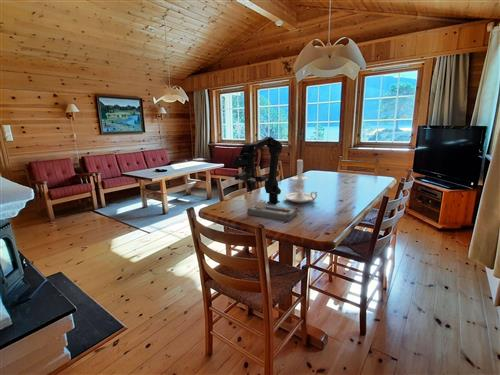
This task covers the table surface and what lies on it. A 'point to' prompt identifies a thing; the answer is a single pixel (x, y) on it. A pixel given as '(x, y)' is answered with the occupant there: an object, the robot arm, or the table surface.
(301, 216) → the table surface
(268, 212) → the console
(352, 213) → the table surface
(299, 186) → the candlestick
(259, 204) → the fader knob
